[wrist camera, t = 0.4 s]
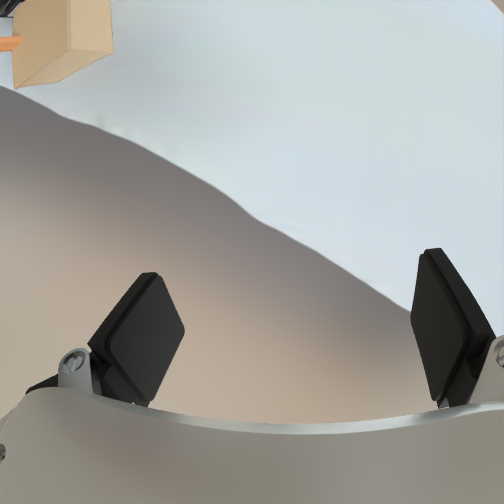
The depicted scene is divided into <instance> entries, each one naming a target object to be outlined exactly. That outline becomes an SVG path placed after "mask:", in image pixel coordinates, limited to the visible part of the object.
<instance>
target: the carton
mask: <svg viewBox="0 0 504 504" xmlns="http://www.w3.org/2000/svg"><path fill="white" fill-rule="evenodd" d="M70 44H71V51H69V52H67V53H66V54H64V55H63V56H61V57H60V58H58V59H57V60H55V61H54V62H52V63H51V64H49V65H48V66H46V67H45V68H44V69H42V70H41V71H40V72H38V73H37V74H35V75H34V76H33V77H32V78H30V79H29V80H28V81H26V82H25V83H24V84H23V85H21V86H20V87H26V86H33V85H39V84H47V83H56V82H59V81H61V80H62V79H64V78H66V77H67V76H69V75H71V74H73V73H74V72H76V71H78V70H80V69H82V68H84V67H85V66H87V65H89V64H91V63H93V62H95V61H97V60H99V59H101V58H103V57H105V56H107V55H110V54H112V53H114V48H113V37H112V24H111V6H110V0H70ZM20 87H19V88H20Z"/></svg>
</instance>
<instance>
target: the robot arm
mask: <svg viewBox="0 0 504 504" xmlns="http://www.w3.org/2000/svg"><path fill="white" fill-rule="evenodd" d="M411 325H412V328H413V331H414V335H415V338H416V341H417V344H418V348H419V351H420V355H421V358H422V362H423V366H424V369H425V373H426V377H427V381H428V385H429V390H430V394H431V398H432V400H433V401H437V406H438V409H439V410H434V411H429V412H425V413H419V414H413V415H407V416H400V417H392V418H384V419H377V420H368V421H357V422H344V423H325V424H271V423H253V422H240V421H229V420H219V419H211V418H204V417H196V416H190V415H184V414H177V413H172V412H167V411H161V410H156V409H151V408H147V407H148V405H149V403H150V401H152V400H153V399H154V397H155V395H156V393H157V391H158V389H159V387H160V385H161V382H162V380H163V378H164V376H165V374H166V372H167V370H168V367H169V365H170V363H171V361H172V359H173V357H174V355H175V353H176V351H177V349H178V347H179V344H180V342H181V340H182V338H183V336H184V332H185V330H184V326H183V324H182V322H181V319H180V317H179V315H178V313H177V310H176V309H175V306H174V304H173V301H172V299H171V297H170V295H169V292H168V290H167V288H166V285H165V283H164V281H163V278H162V277H161V276H159V275H158V274H157V273H156V272H149V273H142V274H141V275H140V276H139V277H138V278H137V280H136V281H135V282H134V283H133V284H132V286H131V287H130V288H129V290H128V291H127V292H126V293H125V294H124V296H123V297H122V298H121V299H120V301H119V302H118V303H117V305H116V306H115V307H114V308H113V310H112V311H111V312H110V314H109V315H108V316H107V318H106V319H105V320H104V321H103V323H102V324H101V325H100V327H99V328H98V330H97V331H96V332H95V334H94V335H93V336H92V338H91V339H90V341H89V342H88V343H87V344H88V346H89V347H90V348H91V350H92V351H91V353H89V352H88V351H87V350H86V349H84V348H77V349H74V350H72V351H70V352H69V353H67V354H66V355H65V356H64V357H63V359H62V360H61V362H60V364H59V368H58V374H56V375H55V376H52V377H50V378H49V379H46V380H45V381H43V382H40V383H38V384H36V385H34V386H32V387H30V388H29V389H28V390H27V391H26V395H25V396H24V397H23V398H22V400H21V401H20V402H19V403H18V405H17V406H16V407H15V408H14V409H13V410H12V411H10V412H9V413H8V414H7V415H5V416H4V417H3V418H2V419H1V420H0V504H504V335H502V336H499V337H497V338H496V336H495V334H494V332H493V330H492V328H491V326H490V324H489V322H488V321H487V319H486V317H485V315H484V313H483V312H482V310H481V308H480V306H479V305H478V303H477V301H476V299H475V298H474V296H473V294H472V293H471V291H470V290H469V288H468V286H467V285H466V284H465V282H464V281H463V279H462V278H461V276H460V275H459V273H458V272H457V270H456V269H455V267H454V266H453V264H452V263H451V261H450V260H449V258H448V257H447V256H446V254H445V253H444V251H443V250H442V249H441V248H434V249H426V250H425V251H424V254H421V255H420V257H419V264H418V272H417V280H416V287H415V293H414V299H413V305H412V310H411ZM133 402H134V404H135V405H134V404H132V403H133ZM448 406H449V408H445V409H440V408H444V407H448Z"/></svg>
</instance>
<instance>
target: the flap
mask: <svg viewBox="0 0 504 504" xmlns="http://www.w3.org/2000/svg"><path fill="white" fill-rule="evenodd" d="M5 51H12V62H13V82H14V90H15V89H18V88H19V87H20V86H21V85H23V84H24V83H25V82H26V81H28V80H29V79H30V78H32V77H33V76H34V75H35V74H37V73H38V72H40V71H41V70H42V69H44V68H45V67H46V66H48V65H49V64H51V63H52V62H54V61H55V60H57V59H58V58H60V57H61V56H63V55H64V54H66V53H67V52H69V51H71V44H70V0H25V1H24V2H23V3H22V4H21V5H20V6H19V7H18V8H17V9H16V10H15V11H14V18H13V37H0V52H5Z"/></svg>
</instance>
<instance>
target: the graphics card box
mask: <svg viewBox="0 0 504 504" xmlns="http://www.w3.org/2000/svg"><path fill="white" fill-rule="evenodd" d="M24 1H25V0H0V17H9V18H14V11H15V10H16V9H17V8H18V7H19V6H20V5H21V4H22V3H23V2H24Z"/></svg>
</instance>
